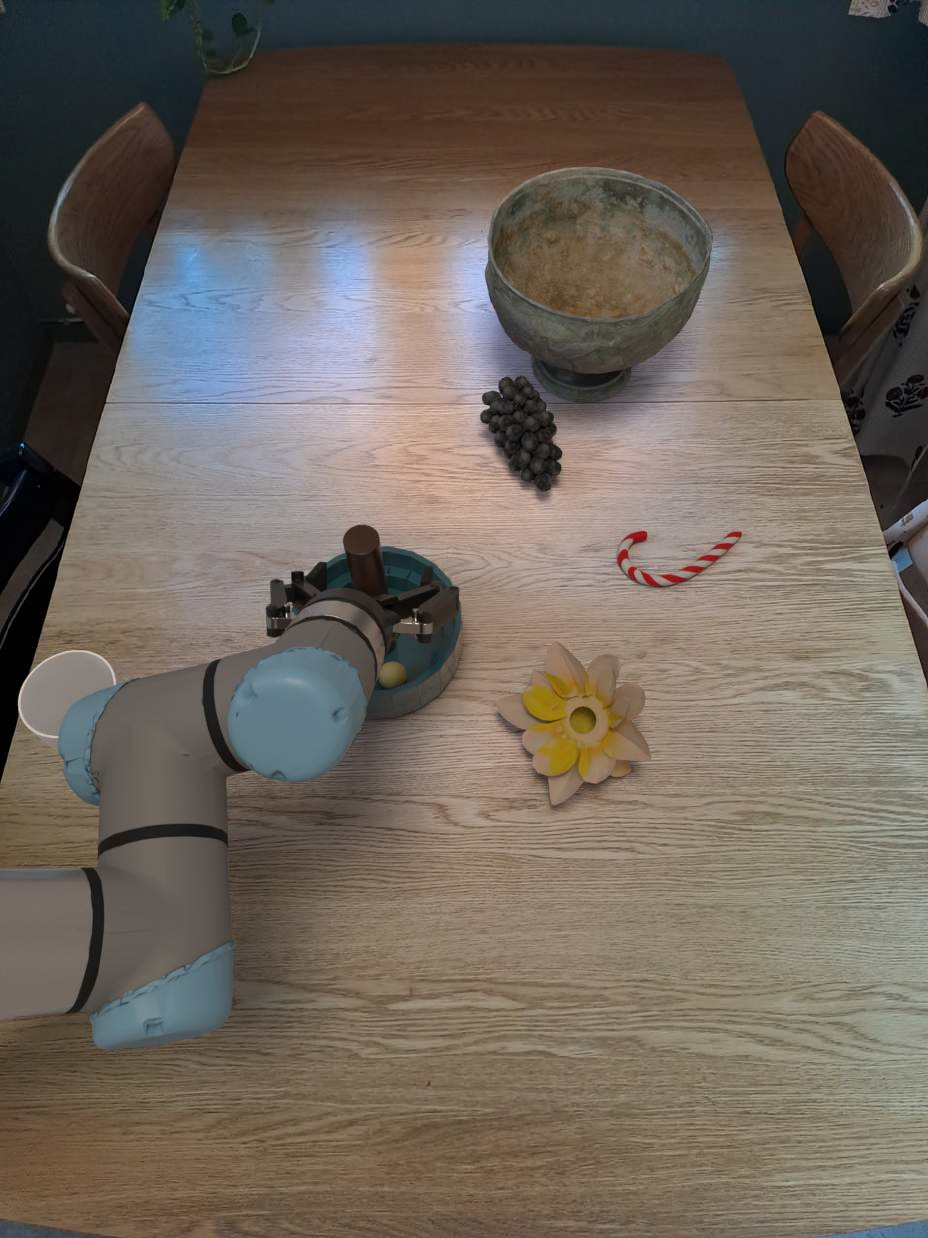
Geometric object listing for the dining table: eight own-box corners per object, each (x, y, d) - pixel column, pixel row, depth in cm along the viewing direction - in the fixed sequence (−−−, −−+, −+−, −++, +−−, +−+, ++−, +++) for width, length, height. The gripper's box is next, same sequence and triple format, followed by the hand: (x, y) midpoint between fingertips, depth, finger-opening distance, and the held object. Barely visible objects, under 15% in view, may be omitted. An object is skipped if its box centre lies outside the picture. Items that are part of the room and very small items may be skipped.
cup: (187, 765, 85) (132, 704, 71) (111, 811, 82) (38, 757, 68) (153, 703, 88) (94, 633, 74) (79, 745, 86) (3, 681, 72)
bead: (374, 681, 88) (386, 700, 86) (373, 661, 86) (384, 680, 84) (400, 671, 89) (412, 690, 87) (399, 651, 87) (411, 670, 85)
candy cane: (757, 551, 95) (639, 593, 93) (753, 557, 96) (637, 599, 94) (722, 499, 99) (608, 539, 96) (719, 506, 100) (606, 545, 97)
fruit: (570, 451, 92) (528, 353, 99) (501, 481, 94) (464, 382, 100) (584, 489, 100) (544, 396, 107) (520, 517, 101) (485, 423, 108)
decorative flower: (477, 681, 87) (505, 636, 79) (570, 656, 91) (605, 612, 83) (533, 817, 81) (569, 785, 73) (629, 784, 86) (674, 751, 77)
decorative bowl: (653, 466, 102) (689, 333, 85) (454, 417, 107) (451, 282, 89) (694, 326, 115) (732, 186, 98) (515, 288, 119) (522, 148, 102)
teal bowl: (363, 753, 85) (356, 730, 80) (270, 636, 92) (257, 607, 86) (494, 656, 91) (496, 628, 85) (397, 551, 97) (392, 518, 91)
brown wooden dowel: (378, 661, 89) (356, 561, 72) (360, 641, 91) (335, 537, 73) (402, 644, 90) (386, 541, 73) (384, 624, 91) (365, 517, 74)
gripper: (190, 687, 64) (265, 608, 86) (484, 700, 64) (486, 617, 85) (184, 592, 62) (263, 535, 83) (488, 605, 62) (489, 544, 83)
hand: (376, 577), depth 84 cm, fingers open, 10 cm apart
